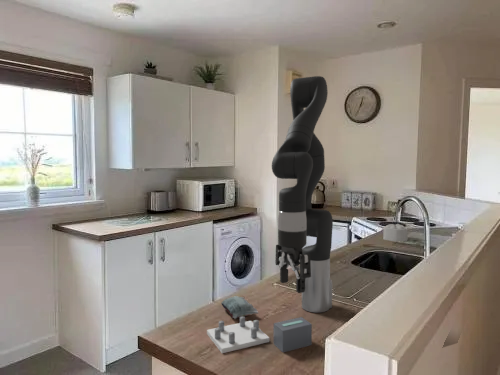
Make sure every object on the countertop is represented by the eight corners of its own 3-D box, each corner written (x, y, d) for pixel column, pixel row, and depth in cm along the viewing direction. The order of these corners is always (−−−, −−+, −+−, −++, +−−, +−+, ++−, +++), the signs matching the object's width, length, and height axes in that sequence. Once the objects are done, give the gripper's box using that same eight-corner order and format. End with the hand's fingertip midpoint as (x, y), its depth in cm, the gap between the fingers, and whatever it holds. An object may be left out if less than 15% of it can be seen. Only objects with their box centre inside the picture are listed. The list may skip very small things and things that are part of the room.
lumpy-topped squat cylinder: (388, 236, 236) (388, 222, 235) (410, 239, 227) (410, 225, 227) (381, 239, 228) (381, 224, 228) (403, 242, 220) (404, 227, 219)
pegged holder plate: (250, 324, 117) (250, 312, 117) (269, 341, 106) (269, 328, 106) (207, 333, 111) (206, 321, 111) (221, 353, 101) (221, 339, 100)
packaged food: (244, 305, 133) (244, 291, 132) (258, 318, 122) (258, 303, 121) (220, 309, 129) (220, 295, 129) (232, 324, 118) (232, 308, 118)
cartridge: (301, 337, 109) (301, 316, 109) (311, 345, 105) (311, 323, 104) (273, 344, 105) (273, 322, 105) (282, 352, 101) (282, 330, 100)
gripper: (319, 231, 97) (319, 293, 99) (290, 222, 110) (290, 277, 112) (294, 234, 94) (293, 298, 96) (267, 224, 107) (267, 281, 108)
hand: (292, 287), depth 104 cm, fingers open, 8 cm apart
